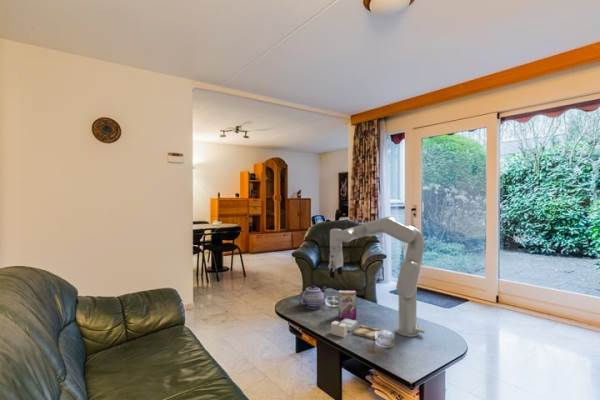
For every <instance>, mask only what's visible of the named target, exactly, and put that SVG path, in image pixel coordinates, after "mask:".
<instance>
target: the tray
mask: <svg viewBox="0 0 600 400" xmlns="http://www.w3.org/2000/svg"><path fill="white" fill-rule="evenodd" d="M375 331H382V332H383V330H382V329H378V328H373V327H370V326H366V325H361V324H358V325H357V326H356V327H355V328H354V329H353V330H352V334H353V335H356V336H360V337H364V338H367V339H371V340H374V339H375V336H374V334H375Z"/></svg>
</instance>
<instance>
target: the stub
mask: <svg viewBox="0 0 600 400" xmlns="http://www.w3.org/2000/svg"><path fill="white" fill-rule="evenodd" d="M330 331H331V332H330V333H331V335H335V336H338V337H341V338H345V337H347V336H348V333H347V332H348V331H347V324H345V323H341V321H340V322H339V321H336V320H334V321H332V322H331V323H330Z"/></svg>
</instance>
